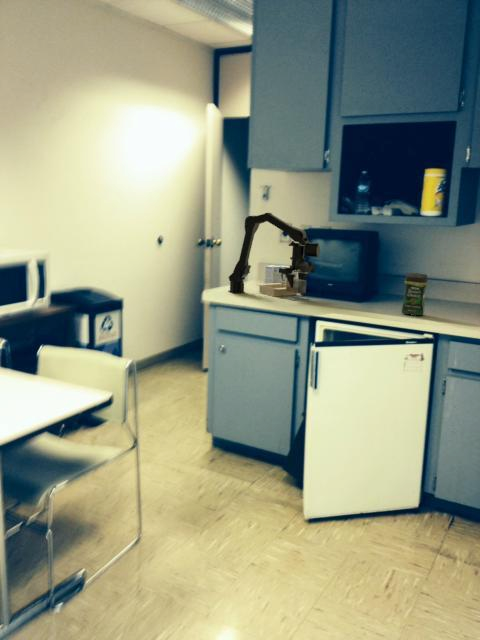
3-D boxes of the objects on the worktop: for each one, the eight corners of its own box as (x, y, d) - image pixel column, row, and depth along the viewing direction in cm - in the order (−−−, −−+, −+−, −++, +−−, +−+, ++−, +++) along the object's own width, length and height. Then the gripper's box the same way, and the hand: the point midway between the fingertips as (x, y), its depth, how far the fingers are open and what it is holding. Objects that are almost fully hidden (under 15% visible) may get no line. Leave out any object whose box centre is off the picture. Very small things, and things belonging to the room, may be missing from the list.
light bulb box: (276, 283, 359) (277, 264, 357) (285, 284, 355) (286, 265, 353) (263, 284, 352) (264, 265, 350) (272, 286, 347) (273, 266, 345)
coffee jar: (399, 314, 276) (403, 273, 272) (403, 312, 283) (407, 271, 279) (421, 317, 271) (426, 275, 268) (425, 314, 278) (429, 273, 275)
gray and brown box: (297, 293, 302) (298, 281, 301) (285, 290, 309) (286, 278, 308) (305, 293, 305) (306, 280, 303) (293, 290, 312) (294, 278, 311)
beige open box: (277, 297, 309) (277, 289, 308) (255, 291, 324) (256, 284, 323) (300, 295, 317) (300, 287, 317) (278, 290, 332) (279, 282, 331)
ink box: (278, 287, 341) (280, 266, 339) (280, 286, 346) (282, 265, 343) (294, 289, 339) (295, 267, 336) (296, 287, 343) (297, 266, 341)
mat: (293, 300, 301) (293, 299, 301) (281, 297, 308) (282, 296, 308) (309, 299, 307) (309, 298, 307) (297, 296, 314) (297, 295, 314)
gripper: (293, 258, 292) (291, 290, 295) (323, 257, 302) (321, 288, 305) (278, 255, 301) (277, 287, 304) (308, 254, 311) (306, 285, 314)
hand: (295, 287), depth 306 cm, fingers closed on gray and brown box, 5 cm apart
